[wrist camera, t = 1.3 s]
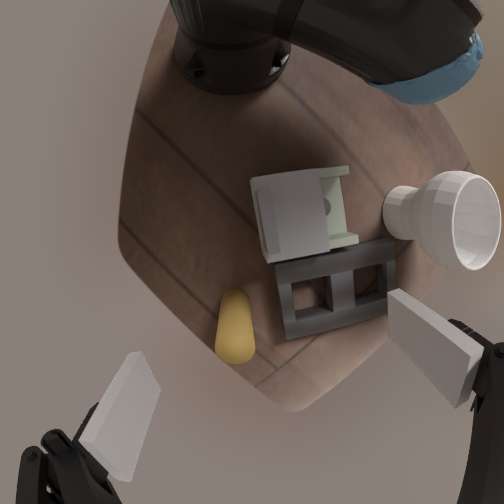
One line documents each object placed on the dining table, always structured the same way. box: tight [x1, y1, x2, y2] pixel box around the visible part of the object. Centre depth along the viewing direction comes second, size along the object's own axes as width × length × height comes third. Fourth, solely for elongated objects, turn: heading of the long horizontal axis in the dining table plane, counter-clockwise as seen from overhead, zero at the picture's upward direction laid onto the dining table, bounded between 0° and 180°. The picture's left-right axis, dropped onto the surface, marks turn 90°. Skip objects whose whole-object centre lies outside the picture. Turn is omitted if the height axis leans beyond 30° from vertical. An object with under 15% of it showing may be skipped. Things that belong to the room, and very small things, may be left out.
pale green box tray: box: [250, 166, 359, 260], centre depth 31 cm, size 9×11×4 cm
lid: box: [252, 168, 330, 263], centre depth 27 cm, size 9×7×4 cm
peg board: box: [272, 238, 396, 340], centre depth 34 cm, size 10×16×3 cm, turn 100°
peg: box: [215, 288, 255, 365], centre depth 29 cm, size 4×4×12 cm
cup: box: [383, 171, 501, 271], centre depth 26 cm, size 11×11×15 cm
